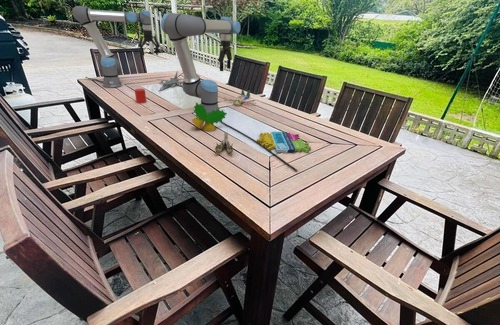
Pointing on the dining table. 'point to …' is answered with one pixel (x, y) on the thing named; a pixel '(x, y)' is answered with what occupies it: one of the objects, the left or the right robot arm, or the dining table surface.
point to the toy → (241, 99)
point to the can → (140, 95)
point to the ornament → (207, 117)
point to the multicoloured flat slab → (283, 142)
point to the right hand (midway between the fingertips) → (225, 69)
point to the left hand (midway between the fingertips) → (150, 55)
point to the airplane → (170, 82)
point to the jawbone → (224, 145)
